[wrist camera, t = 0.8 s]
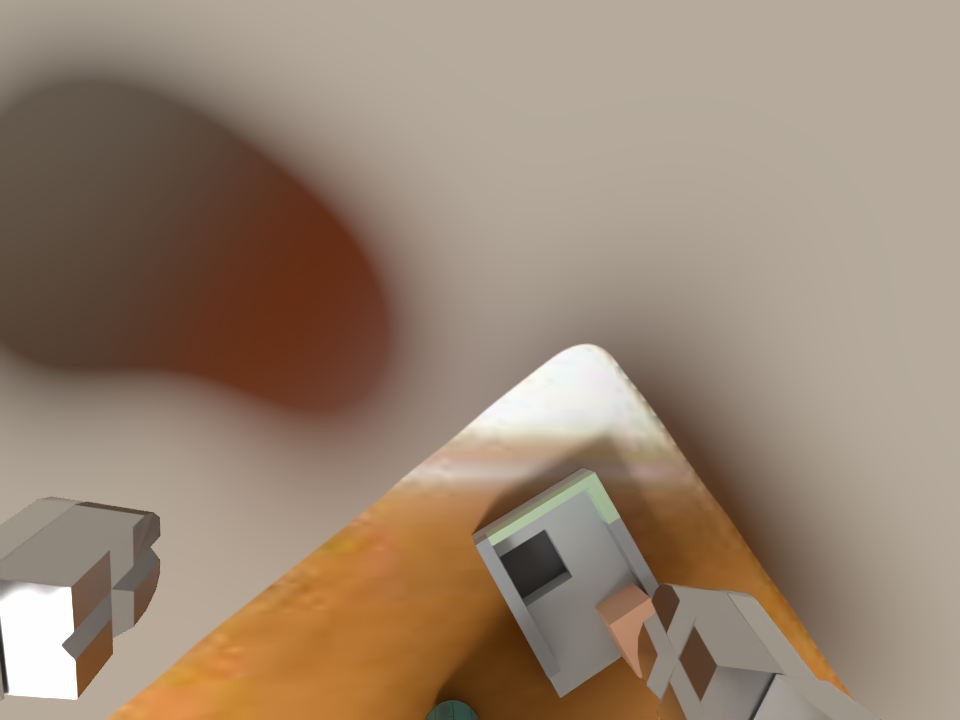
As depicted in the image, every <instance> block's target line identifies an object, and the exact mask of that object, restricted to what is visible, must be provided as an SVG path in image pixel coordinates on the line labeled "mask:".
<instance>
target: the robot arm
mask: <svg viewBox="0 0 960 720" xmlns="http://www.w3.org/2000/svg"><path fill="white" fill-rule="evenodd" d="M158 537H160V517H159V516H157V515H156V514H155V513H154V512H148V511H142V510H136V509H129V508H123V507H117V506H111V505H104V504H99V503H92V502H82V501H76V500H70V499H64V498H57V497H47V498H42V499H38V500H36V501H35V502H33V503H32V504H30V505H29V506H28V507H26V508H24V509H23V510H22V511H20V512H19V513H17V514H16V515H14V516H13V517H11V518H10V519H9V520H7V521H6V522H4V523H3V524H1V525H0V701H2V700H3V699H4V695H20V696H34V697H49V698H64V699H78V698H79V697H80V695H81V694H82V693H83V691H84V690H85V689H86V687H87V686H88V685H89V684H90V682H91V681H92V679H94V677H95V676H96V675H97V673H98V672H99V671H100V669H101V668H102V667H103V666H104V664H105V663H106V662H107V661H108V659H109V658H110V657H111V655H112V654H113V638H114V637H116V636H117V635H119V634H121V633H123V632H125V631H127V630H128V629H130V628H132V627H134V625H135V624H136V623H137V622H138V620H139V619H140V617H141V616H142V615H143V613H144V612H145V611H146V609H147V607H148V605H149V603H150V601H151V599H152V597H153V595H154V593H155V590H156V587H157V583H158V579H159V574H160V559H159V558H158V556H157V555H156V554H155V552H154V551H153V550H152V549H151V546H152V544H153V543H154V542H155V541H156V540H157V539H158ZM651 602H652V604H653V607H654V609H655V612H656V613H654V614H653V615H652V616H650V617H649V618H648V619H646V620H645V621H644V622H643V624H642V627H641V630H640V633H639V636H638V660H639V665H640V670H641V673H642V676H643V678H644V681H645V684H646V685H647V686H648V687H649V688H650V689H651V691H652V692H653V693H654V694H655V695H656V696H657V697H658V698H659V699H660V704H659V707H658V711H657V714H658V716H659V719H660V720H881V719H879V718H878V717H876V716H875V715H874V714H872V713H871V712H870V711H868V710H867V709H865V708H864V707H863V706H861V705H860V704H859V703H857V702H856V701H854V700H853V699H852V698H850V697H849V696H848V695H846V694H845V693H843V692H842V691H841V690H839V689H838V688H837V687H835V686H834V685H832V684H831V683H830V682H828V681H825V680H818V679H817V678H816V676H815V675H814V674H813V672H812V671H811V670H810V668H809V667H808V666H807V665H806V663H805V662H804V661H803V659H802V658H801V657H800V655H799V654H798V653H797V652H796V650H795V649H794V648H793V646H792V645H791V644H790V642H789V641H788V640H787V639H786V637H785V636H784V635H783V633H782V632H781V631H780V629H779V628H778V627H777V626H776V624H775V623H774V622H773V620H772V619H771V618H770V616H769V615H768V614H767V613H766V611H765V610H764V609H763V607H762V606H761V605H760V603H759V602H758V601H757V600H756V599H755V598H754V597H753V596H751V595H750V594H748V593H746V592H737V591H729V590H720V589H719V590H713V589H706V588H698V587H690V586H683V585H675V584H668V583H662V584H661V585H660V586H659V587H658V588H657V589H656V590H655V593H654V595H653V598H652V600H651Z"/></svg>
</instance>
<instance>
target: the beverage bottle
mask: <svg viewBox="0 0 960 720" xmlns="http://www.w3.org/2000/svg"><path fill="white" fill-rule="evenodd" d="M476 714H477V713H475V712H474V711H473V709H472V708H471V707H470V706H468V705H467V704H465V703H464V702H461V701H457V700H449V701H445V702H442V703H440V704H438V705H437V706H436V707H434V708H433V709H432V710H431V711H430V713H429V714H428V715H427V717H426V718H425V719H426V720H479V719H480V718H478V717H479V716H478V717H477V715H476Z"/></svg>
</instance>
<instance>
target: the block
mask: <svg viewBox="0 0 960 720" xmlns="http://www.w3.org/2000/svg"><path fill="white" fill-rule="evenodd" d="M595 608H596V610H597V612H598V614H599V616H600V617H601V619H602V621H603V623H604V625H605V626H606V628H607V630H608V632H609V634H610V635H611V637H612V639H613V641H614V643H615V644H616V646H617V648H618V650H619V652H620V653H621V655H622V657H623V658H624V659H625V661H626V662H627V663H628V664H629V666H630V667H631V668H632V670H633V671H634V672H635V673H636V675H637V676H638V677H639V679H640V678H642V677H643V676H642V673H641V670H640V665H639V660H638V636H639V633H640V630H641V627H642V624H643V622H644V621H645V620H646V619H648V618H649V617H650V616H652V615H653V614H654V613H656V612H655V609H654V607H653V604H652V602H651V598H650V597H649V596H648V595H646V594H645V593H644V592H643V591H642V590H641V589H639V588H638V587H637V586H636V585H635V584H634V583H631V584H629V585H627V586H626V587H624V588H623V589H621V590H620V591H618V592H617V593H615V594H614V595H612V596H611V597H609V598H608V599H606V600H605V601H603V602H602V603H600V604H599V605H597V606H596V607H595Z"/></svg>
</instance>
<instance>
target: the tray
mask: <svg viewBox="0 0 960 720" xmlns="http://www.w3.org/2000/svg"><path fill="white" fill-rule="evenodd" d="M472 537H473V540H474V543H475V546H476V548H477V550H478V551H479V553H480V555H481V557H482V559H483V561H484V562H485V564H486V566H487V568H488V570H489V572H490V573H491V575H492V577H493V579H494V581H495V582H496V584H497V586H498V588H499V590H500V592H501V593H502V595H503V597H504V599H505V601H506V603H507V604H508V606H509V608H510V610H511V612H512V613H513V615H514V617H515V619H516V621H517V623H518V624H519V626H520V628H521V630H522V632H523V634H524V635H525V637H526V639H527V641H528V643H529V645H530V646H531V648H532V650H533V652H534V654H535V655H536V657H537V659H538V661H539V663H540V665H541V666H542V668H543V670H544V672H545V674H546V676H547V677H548V679H550V681H551V683H552V684H553V686H554V688H555V690H556V692H557V693H558V695H559V697H560V698H562V697H563V696H564V695H566V694H567V693H569V692H570V691H572V690H573V689H575V688H576V687H578V686H579V685H581V684H582V683H584V682H585V681H586V680H588V679H589V678H591V677H592V676H594V675H595V674H597V673H598V672H600V671H601V670H603V669H604V668H606V667H607V666H608V665H610V664H611V663H613V662H614V661H616V660H617V659H619V658H620V657H622V655H621V653H620V652H619V650H618V648H617V646H616V644H615V643H614V641H613V639H612V637H611V635H610V634H609V632H608V630H607V628H606V626H605V625H604V623H603V621H602V619H601V617H600V616H599V614H598V612H597V610H596V608H595V607H596V606H597V605H599V604H600V603H602V602H603V601H605V600H606V599H608V598H609V597H611V596H612V595H614V594H615V593H617V592H618V591H620V590H621V589H623V588H624V587H626V586H627V585H629V584H631V583H634V584H635V585H636V586H637V587H638V588H639V589H641V590H642V591H643V592H644V593H645V594H646V595H648V596H649V597H650V598H651V600H652V598H653V595H654V593H655V590H656V589H657V588H658V587H659V585H658V583H657V581H656V579H655V577H654V576H653V574H652V572H651V570H650V569H649V567H648V565H647V563H646V562H645V560H644V558H643V556H642V554H641V553H640V551H639V549H638V547H637V546H636V544H635V542H634V540H633V539H632V537H631V535H630V533H629V531H628V530H627V528H626V526H625V524H624V523H623V521H622V519H621V517H620V515H619V514H618V512H617V510H616V508H615V507H614V505H613V503H612V501H611V500H610V498H609V496H608V494H607V492H606V491H605V489H604V487H603V485H602V484H601V482H600V480H599V478H598V477H597V475H596V473H595V472H593V471H591V470H588V469H585V468H581V469H579V470H578V471H576V472H574V473H573V474H571V475H569V476H568V477H566V478H564V479H563V480H561V481H559V482H558V483H556V484H555V485H553V486H551V487H550V488H548V489H546V490H545V491H543V492H541V493H540V494H538V495H536V496H535V497H533V498H531V499H530V500H528V501H527V502H525V503H523V504H522V505H520V506H518V507H517V508H515V509H513V510H512V511H510V512H508V513H507V514H505V515H503V516H502V517H500V518H499V519H497V520H495V521H494V522H492V523H490V524H489V525H487V526H485V527H484V528H482V529H480V530H479V531H477V532H476V533H474V534H472Z"/></svg>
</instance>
